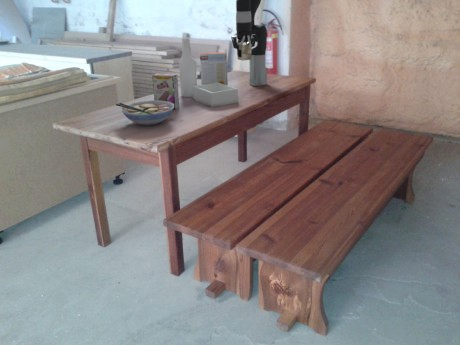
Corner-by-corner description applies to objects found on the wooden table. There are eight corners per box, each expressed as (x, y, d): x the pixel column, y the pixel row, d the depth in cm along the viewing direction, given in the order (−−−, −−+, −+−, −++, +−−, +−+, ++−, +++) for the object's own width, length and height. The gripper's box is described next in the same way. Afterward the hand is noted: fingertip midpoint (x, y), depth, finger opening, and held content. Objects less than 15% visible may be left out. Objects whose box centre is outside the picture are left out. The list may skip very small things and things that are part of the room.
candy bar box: (154, 109, 220) (151, 75, 213) (159, 106, 224) (156, 73, 218) (175, 110, 216) (173, 76, 210) (179, 108, 221) (177, 74, 214)
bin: (218, 95, 242) (217, 82, 240) (237, 102, 228) (237, 88, 225) (193, 99, 235) (192, 86, 232) (212, 107, 220) (211, 92, 218)
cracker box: (228, 90, 254) (227, 51, 245) (226, 92, 248) (225, 53, 240) (203, 90, 255) (201, 52, 247) (201, 92, 250) (199, 53, 241)
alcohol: (182, 93, 248) (178, 37, 237) (198, 93, 247) (195, 36, 236) (179, 97, 240) (175, 39, 228) (196, 97, 239) (192, 38, 228)
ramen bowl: (188, 122, 197) (186, 104, 194) (144, 135, 182) (142, 115, 179) (154, 112, 214) (152, 95, 210) (111, 123, 199) (108, 105, 196)
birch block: (245, 58, 232) (245, 44, 230) (251, 59, 228) (251, 45, 226) (237, 59, 230) (237, 45, 227) (243, 60, 226) (242, 46, 223)
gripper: (251, 19, 228) (251, 54, 235) (227, 21, 221) (228, 57, 228) (260, 20, 222) (260, 55, 229) (235, 22, 215) (236, 59, 222)
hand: (244, 56), depth 229 cm, fingers closed on birch block, 5 cm apart
